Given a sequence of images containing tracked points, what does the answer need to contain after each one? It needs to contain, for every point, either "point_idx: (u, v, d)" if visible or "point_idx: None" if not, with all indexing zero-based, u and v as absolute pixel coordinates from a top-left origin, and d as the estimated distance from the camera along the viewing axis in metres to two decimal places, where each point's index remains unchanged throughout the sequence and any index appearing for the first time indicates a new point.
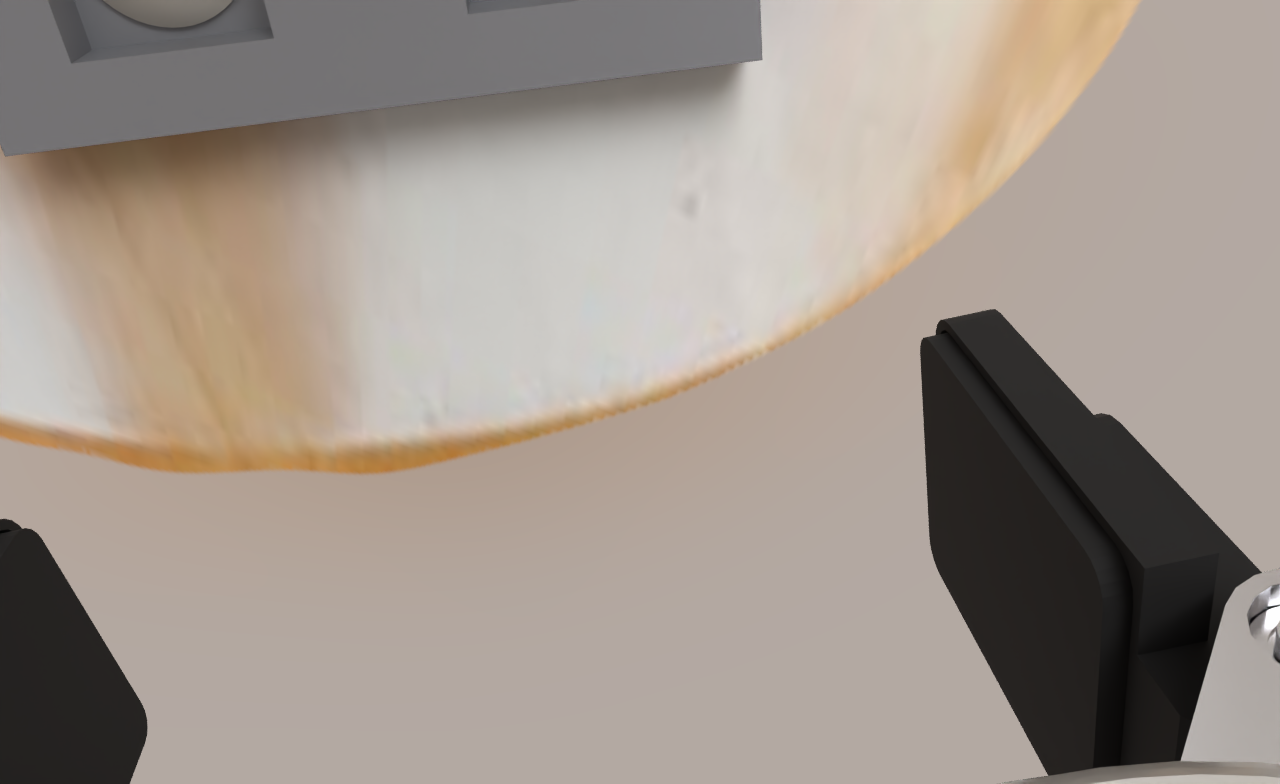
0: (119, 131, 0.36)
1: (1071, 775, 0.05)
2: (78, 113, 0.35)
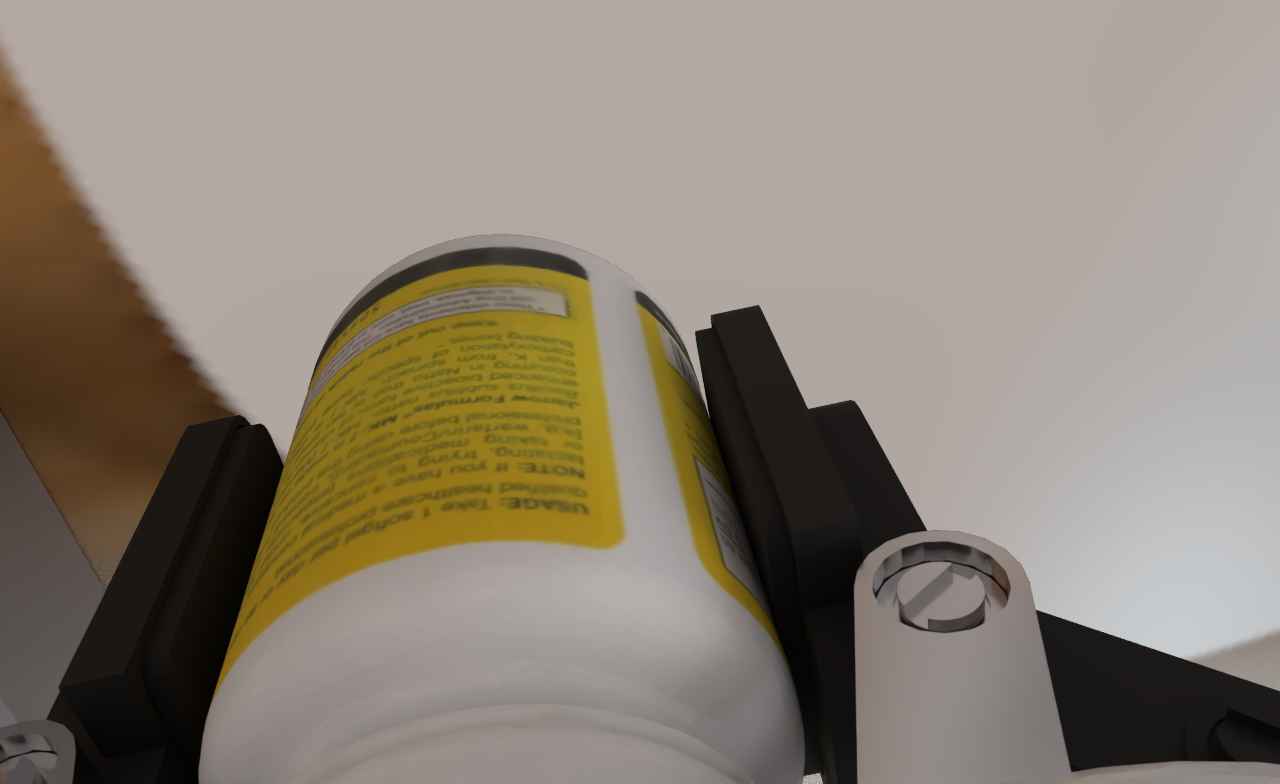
0: None
1: (1071, 775, 0.05)
2: None
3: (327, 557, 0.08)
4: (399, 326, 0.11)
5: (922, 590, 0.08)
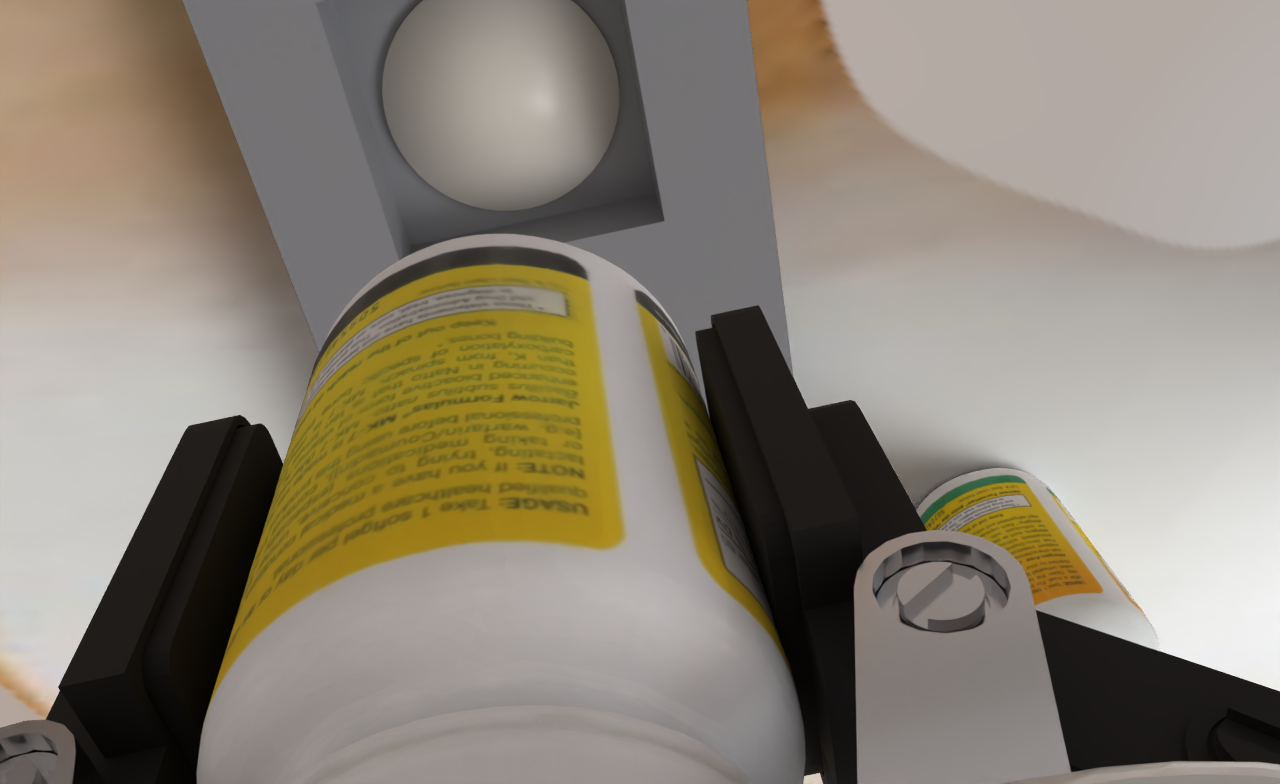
0: (221, 61, 0.23)
1: (1071, 775, 0.05)
2: (237, 1, 0.23)
3: (326, 556, 0.08)
4: (397, 326, 0.10)
5: (922, 589, 0.08)
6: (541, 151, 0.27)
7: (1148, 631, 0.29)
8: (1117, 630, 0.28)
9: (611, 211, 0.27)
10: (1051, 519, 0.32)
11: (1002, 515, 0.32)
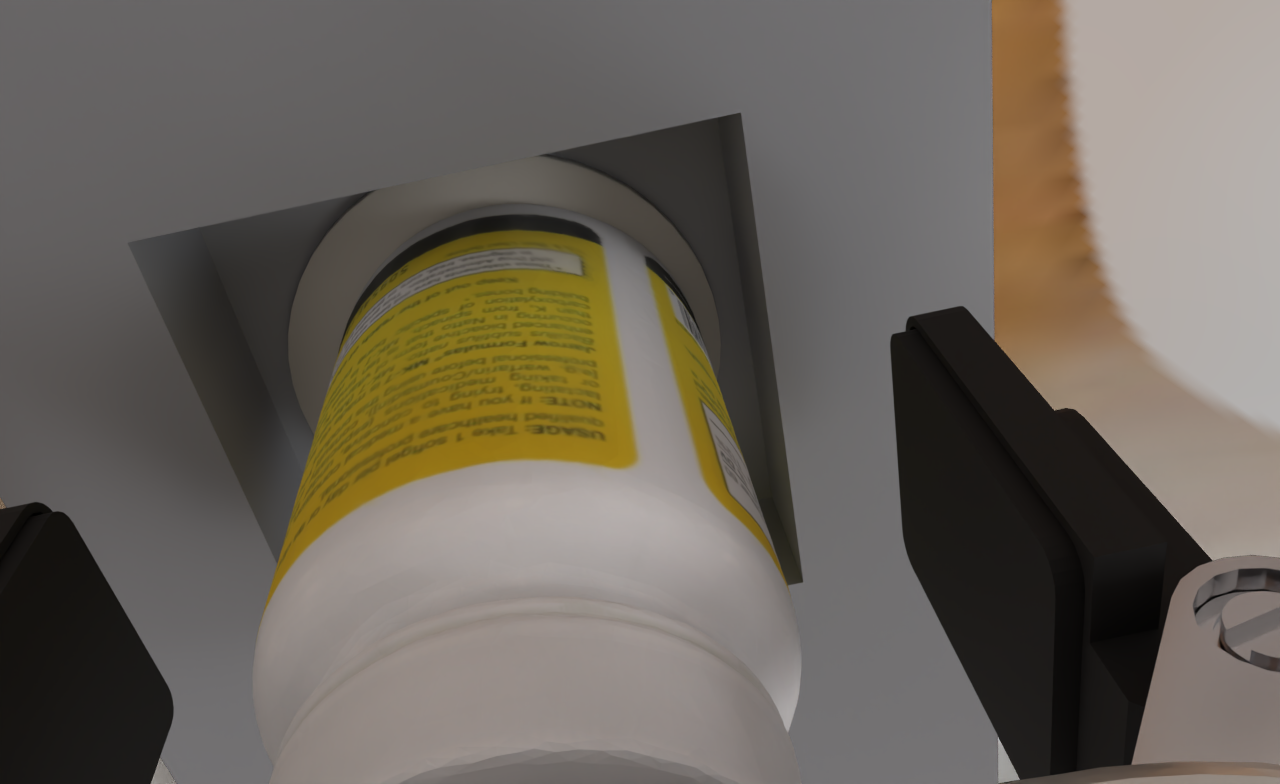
0: None
1: (1072, 775, 0.05)
2: None
3: (369, 477, 0.08)
4: (426, 284, 0.11)
5: (1253, 619, 0.07)
6: None
7: None
8: None
9: None
10: None
11: None
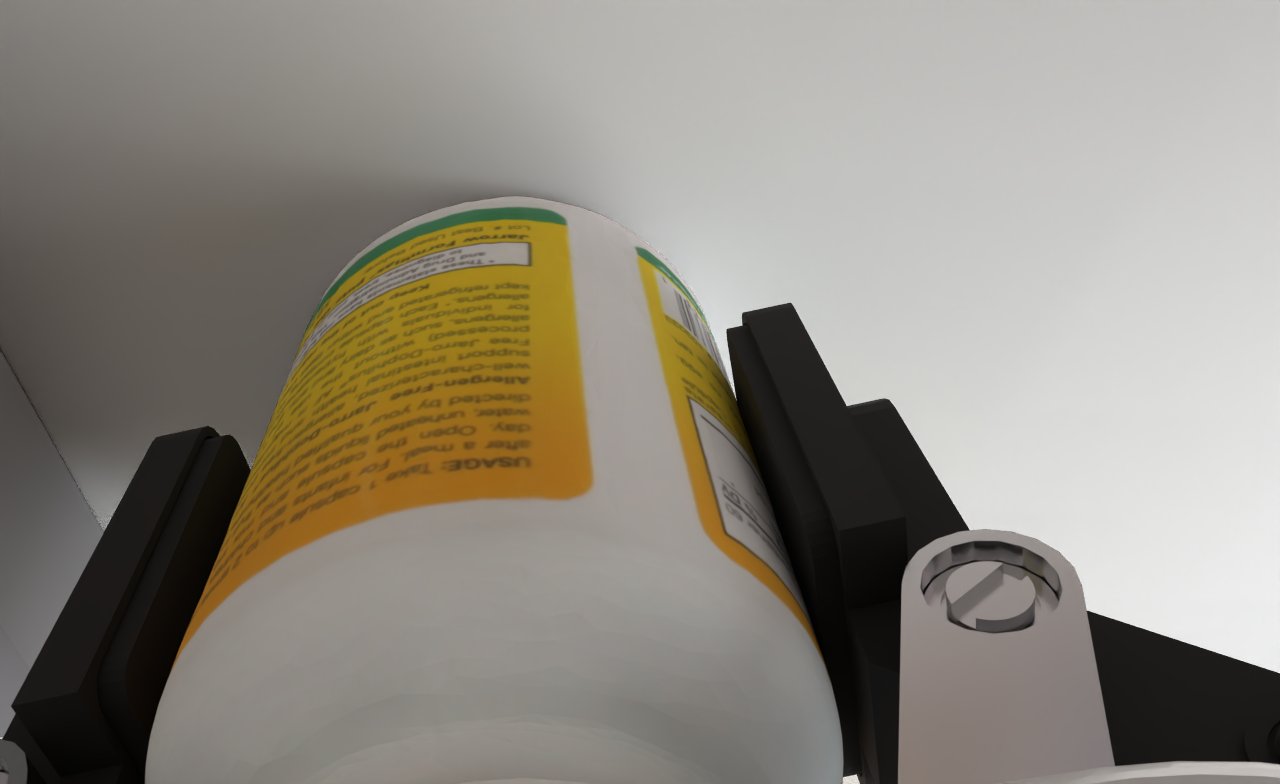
0: None
1: (1071, 775, 0.05)
2: None
3: None
4: None
5: (971, 589, 0.08)
6: None
7: (754, 653, 0.07)
8: (590, 649, 0.07)
9: None
10: (570, 295, 0.10)
11: (427, 285, 0.10)
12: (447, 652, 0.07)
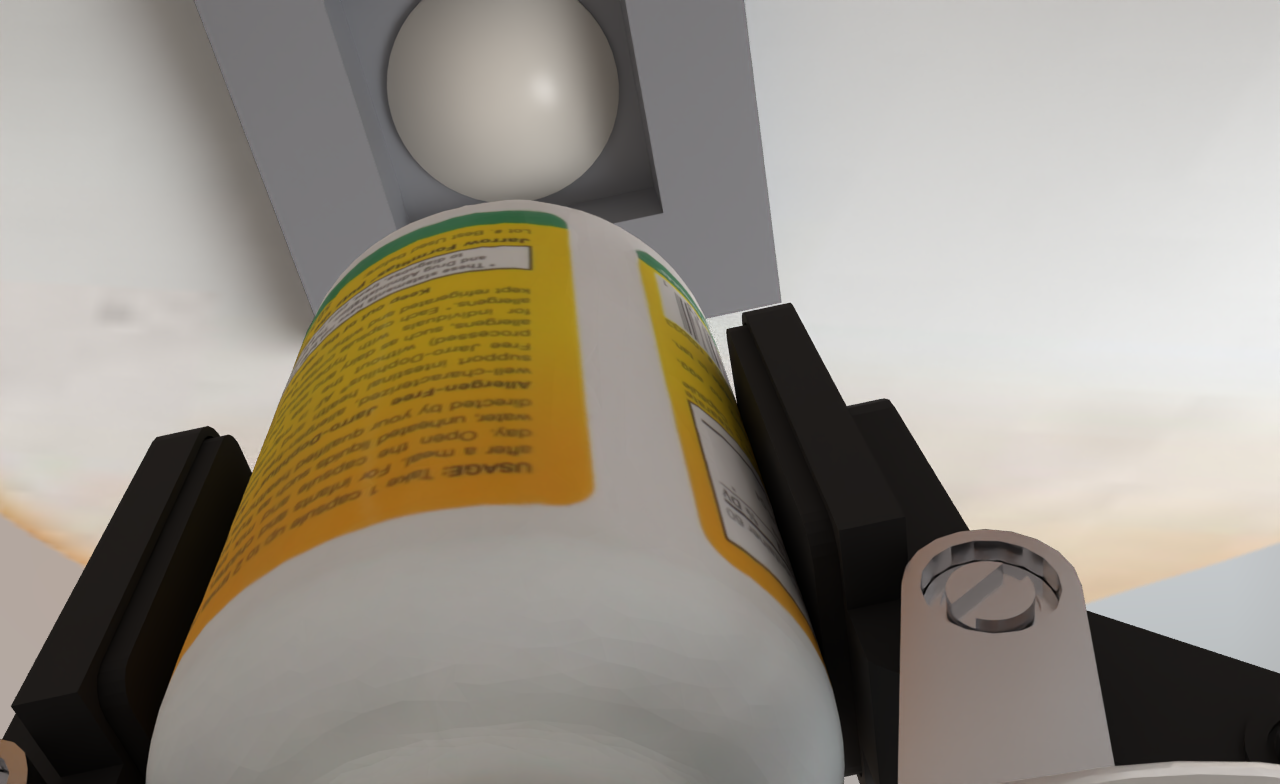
0: None
1: (1071, 775, 0.05)
2: None
3: None
4: None
5: (971, 589, 0.08)
6: None
7: (755, 659, 0.07)
8: (592, 654, 0.07)
9: None
10: (570, 298, 0.10)
11: (427, 289, 0.10)
12: (448, 659, 0.07)
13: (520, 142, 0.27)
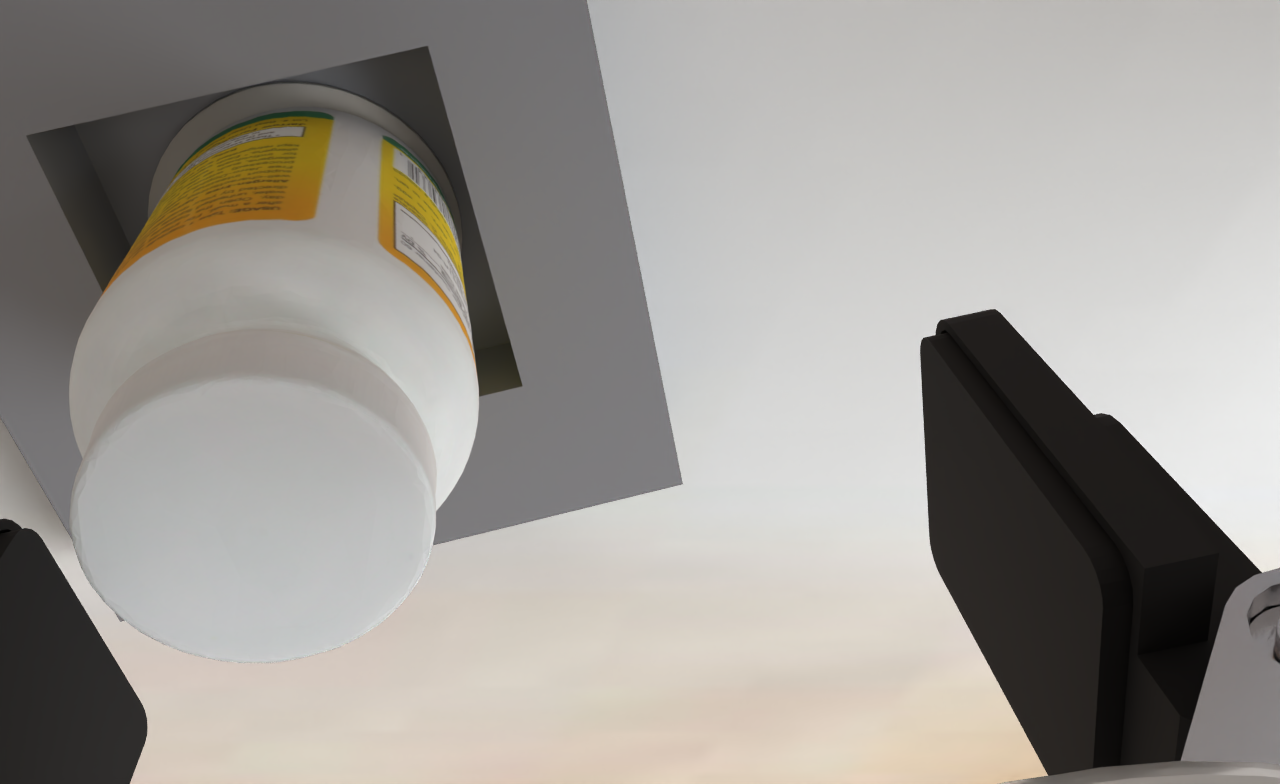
0: None
1: (1071, 775, 0.05)
2: None
3: None
4: None
5: None
6: None
7: (401, 295, 0.14)
8: (305, 282, 0.13)
9: None
10: (324, 150, 0.17)
11: (235, 148, 0.17)
12: (228, 284, 0.13)
13: None
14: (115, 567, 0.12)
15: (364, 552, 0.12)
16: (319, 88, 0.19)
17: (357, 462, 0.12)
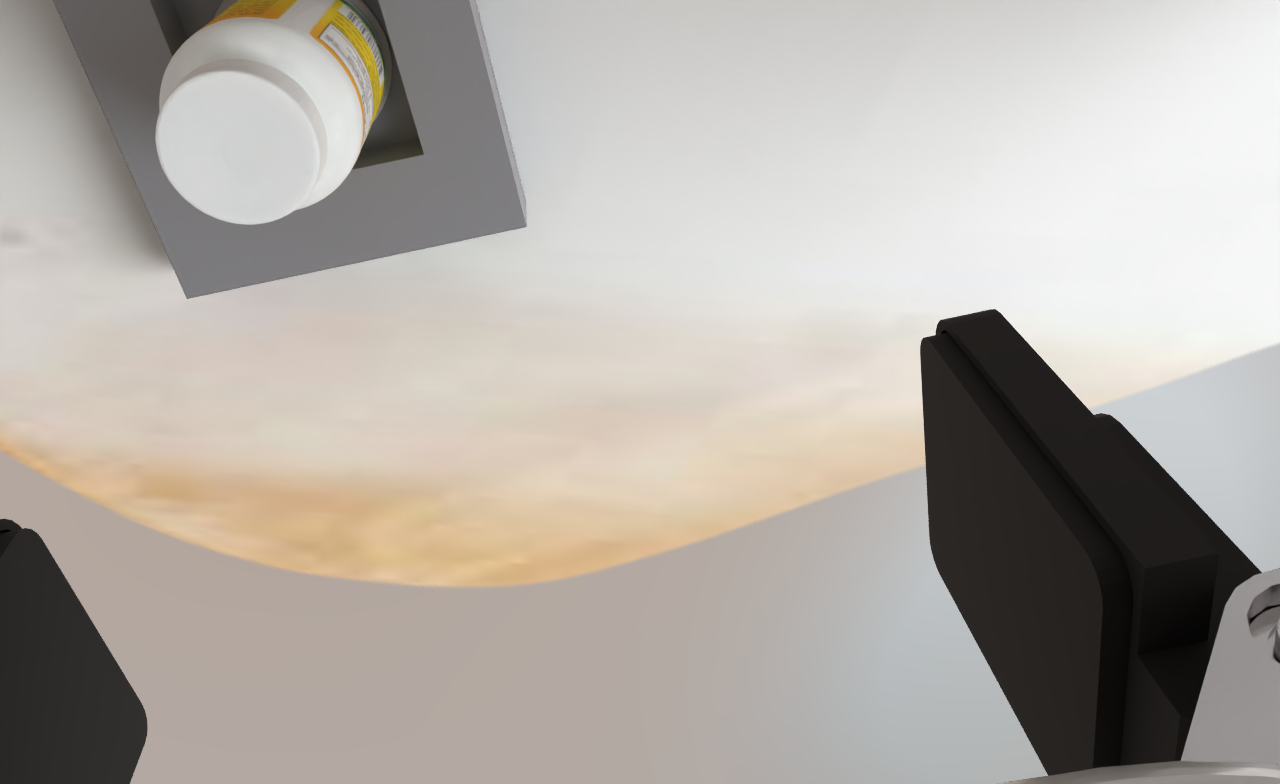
0: None
1: (1071, 775, 0.05)
2: None
3: None
4: None
5: None
6: None
7: (316, 56, 0.28)
8: (268, 44, 0.27)
9: None
10: None
11: None
12: (232, 42, 0.27)
13: None
14: (173, 161, 0.27)
15: (286, 166, 0.27)
16: None
17: (281, 118, 0.26)
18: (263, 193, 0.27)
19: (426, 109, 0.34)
